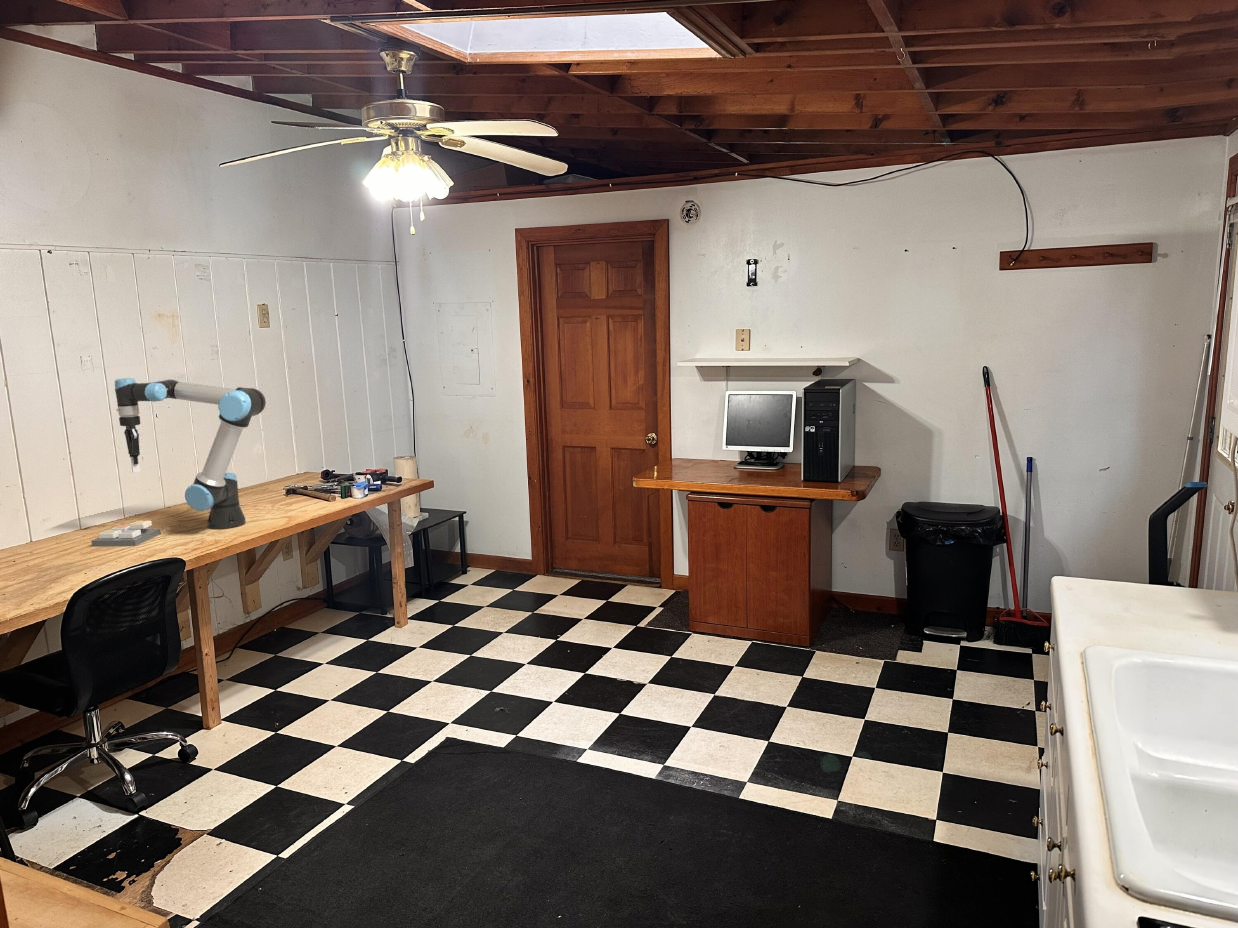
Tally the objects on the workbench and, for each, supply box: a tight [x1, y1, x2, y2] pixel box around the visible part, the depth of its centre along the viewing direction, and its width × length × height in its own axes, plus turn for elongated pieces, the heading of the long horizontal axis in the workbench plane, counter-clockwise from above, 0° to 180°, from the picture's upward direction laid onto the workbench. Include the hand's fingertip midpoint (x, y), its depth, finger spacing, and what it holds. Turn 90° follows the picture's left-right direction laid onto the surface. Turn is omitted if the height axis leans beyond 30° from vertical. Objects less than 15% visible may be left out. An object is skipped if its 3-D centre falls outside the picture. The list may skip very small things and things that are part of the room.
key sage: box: [98, 529, 122, 539], centre depth 350 cm, size 6×6×4 cm
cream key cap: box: [129, 520, 153, 533], centre depth 357 cm, size 6×6×4 cm
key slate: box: [118, 530, 141, 538], centre depth 350 cm, size 6×6×4 cm
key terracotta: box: [110, 524, 134, 532], centre depth 358 cm, size 6×6×4 cm
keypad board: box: [90, 528, 162, 547], centre depth 354 cm, size 18×18×2 cm
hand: (136, 471), depth 361 cm, fingers closed
